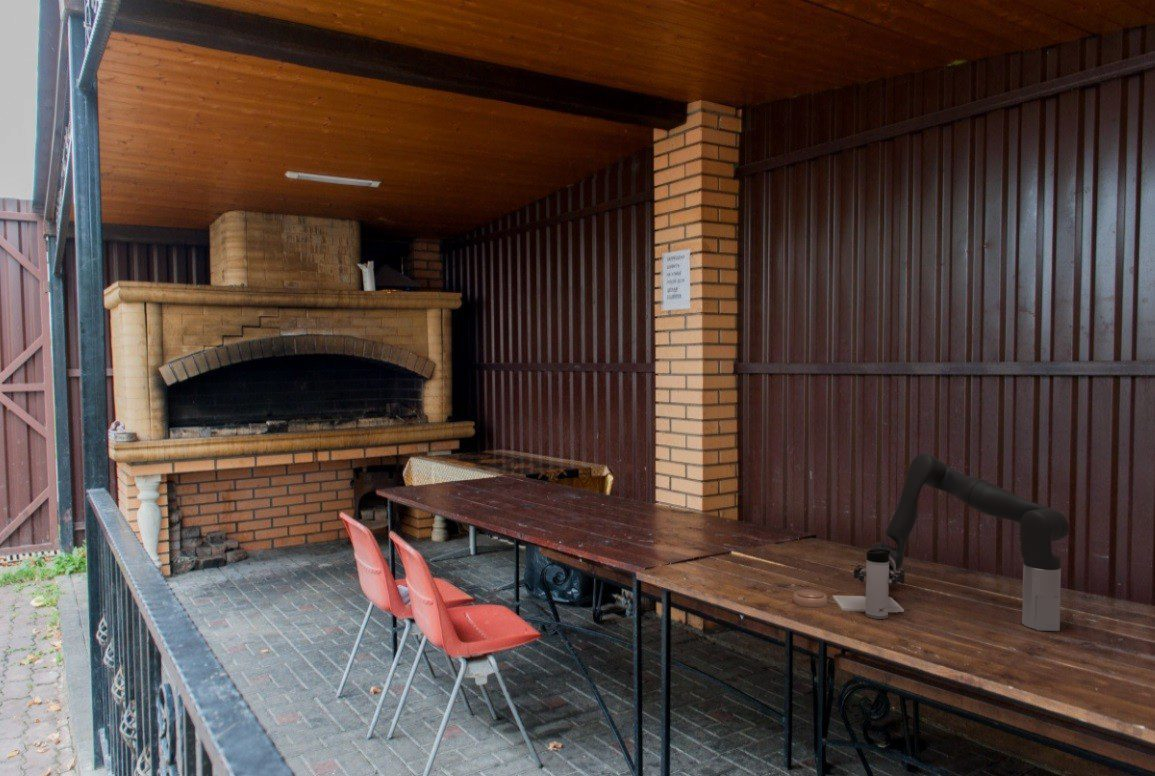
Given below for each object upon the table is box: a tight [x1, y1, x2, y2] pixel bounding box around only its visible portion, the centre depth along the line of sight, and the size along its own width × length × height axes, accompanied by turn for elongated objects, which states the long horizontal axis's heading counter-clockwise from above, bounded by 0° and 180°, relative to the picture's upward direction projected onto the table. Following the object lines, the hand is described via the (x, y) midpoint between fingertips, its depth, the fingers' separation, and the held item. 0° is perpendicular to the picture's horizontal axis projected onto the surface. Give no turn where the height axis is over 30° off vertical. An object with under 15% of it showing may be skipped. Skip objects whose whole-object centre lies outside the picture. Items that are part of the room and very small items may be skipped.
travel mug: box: [864, 549, 891, 620], centre depth 236 cm, size 6×7×20 cm
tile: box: [832, 595, 905, 613], centre depth 248 cm, size 13×18×1 cm
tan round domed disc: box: [793, 588, 828, 608], centre depth 250 cm, size 10×10×3 cm
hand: (877, 580), depth 235 cm, fingers open, 8 cm apart
